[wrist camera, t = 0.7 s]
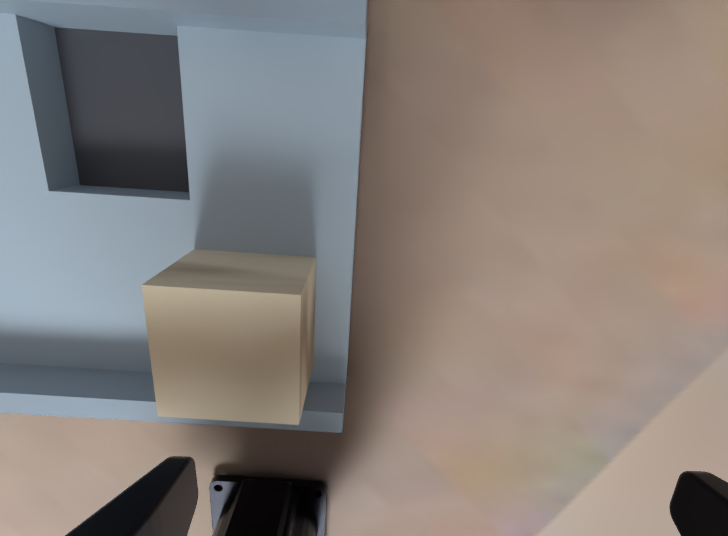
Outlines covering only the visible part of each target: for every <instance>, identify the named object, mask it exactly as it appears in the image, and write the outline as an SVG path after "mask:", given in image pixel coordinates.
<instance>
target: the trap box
mask: <svg viewBox="0 0 728 536" xmlns="http://www.w3.org/2000/svg"><path fill="white" fill-rule="evenodd" d="M367 25H368V0H0V413H14V414H31V415H48V416H65V417H82V418H98V419H115V420H132V421H149V422H166V423H182V424H199V425H216V426H233V427H250V428H266V429H283V430H300V431H317V432H334V433H342V428H343V416H344V405H345V393H346V382H347V367H348V350H349V333H350V316H351V299H352V282H353V264H354V247H355V230H356V213H357V196H358V179H359V162H360V145H361V128H362V111H363V94H364V77H365V60H366V43H367ZM193 249H197V250H213V251H229V252H244V253H260V254H275V255H291V256H306V257H316V289H315V327H314V363H313V368H312V372H311V376H310V380H309V384H308V389H307V393H306V397H305V401H304V406H303V410H302V414H301V418H300V423H299V425H293V424H276V423H259V422H242V421H226V420H209V419H192V418H175V417H158V415H157V407H156V399H155V391H154V383H153V375H152V367H151V359H150V351H149V343H148V334H147V326H146V318H145V310H144V302H143V294H142V286H141V285H142V284H143V283H145V282H146V281H148V280H149V279H151V278H152V277H154V276H155V275H157V274H158V273H160V272H161V271H163V270H164V269H166V268H167V267H168V266H170V265H171V264H173V263H174V262H176V261H177V260H179V259H180V258H182V257H183V256H185V255H186V254H188V253H189V252H191V251H192V250H193Z"/></svg>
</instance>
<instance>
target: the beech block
mask: <svg viewBox="0 0 728 536" xmlns="http://www.w3.org/2000/svg"><path fill="white" fill-rule="evenodd" d="M141 286H142V294H143V302H144V310H145V318H146V326H147V334H148V343H149V351H150V359H151V367H152V375H153V383H154V391H155V399H156V407H157V415H158V417H175V418H192V419H209V420H226V421H242V422H259V423H276V424H293V425H299V423H300V418H301V414H302V410H303V406H304V401H305V397H306V393H307V389H308V384H309V380H310V376H311V372H312V368H313V363H314V327H315V289H316V257H306V256H291V255H275V254H260V253H244V252H229V251H213V250H197V249H193V250H192V251H191V252H189V253H188V254H186V255H185V256H183V257H182V258H180V259H179V260H177V261H176V262H174V263H173V264H171V265H170V266H168V267H167V268H166V269H164V270H163V271H161V272H160V273H158V274H157V275H155V276H154V277H152V278H151V279H149V280H148V281H146V282H145V283H143V284H142V285H141Z"/></svg>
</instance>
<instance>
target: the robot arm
mask: <svg viewBox="0 0 728 536" xmlns="http://www.w3.org/2000/svg"><path fill="white" fill-rule="evenodd" d="M220 485H221V486H220ZM209 489H210V502H211V515H212V527H213V535H212V536H325V523H326V501H327V486H326V484H325V483H323V482H321V481H310V480H293V479H276V478H258V477H241V476H224V475H218V476H215V477H214V478H213V479H212V481H211V484H210V487H209ZM316 490H318V491H316ZM197 500H198V486H197V477H196V469H195V462H194V460H193V458H191V457H181V456H172V457H169V458H167V459H166V460H164V461H163V462H162V463H160V464H159V465H158V466H156V467H155V468H154V469H152V470H151V471H150V472H148V473H147V474H146V475H144V476H143V477H142V478H140V479H139V480H138V481H136V482H135V483H134V484H133V485H131V486H130V487H129V488H127V489H126V490H125V491H123V492H122V493H121V494H119V495H118V496H117V497H115V498H114V499H113V500H111V501H110V502H109V503H107V504H106V505H105V506H104V507H102V508H101V509H100V510H98V511H97V512H96V513H94V514H93V515H92V516H90V517H89V518H88V519H86V520H85V521H84V522H82V523H81V524H80V525H78V526H77V527H76V528H75V529H73V530H72V531H71V532H69V533H68V534H67V535H65V536H187V533H188V530H189V527H190V524H191V521H192V518H193V515H194V511H195V508H196V505H197ZM670 513H671V517H672V519H673V521H674V523H675V525H676V527H677V529H678V531H679V533H680V534H681V536H728V483H727V482H726V481H724V480H722V479H720V478H718V477H717V476H715V475H713V474H711V473H708V472H701V471H686V472H683V473H682V474H681V475H680V476H679V479H678V481H677V484H676V487H675V490H674V493H673V496H672V499H671V502H670Z"/></svg>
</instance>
